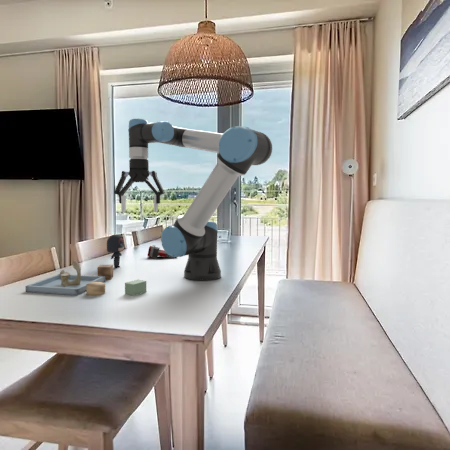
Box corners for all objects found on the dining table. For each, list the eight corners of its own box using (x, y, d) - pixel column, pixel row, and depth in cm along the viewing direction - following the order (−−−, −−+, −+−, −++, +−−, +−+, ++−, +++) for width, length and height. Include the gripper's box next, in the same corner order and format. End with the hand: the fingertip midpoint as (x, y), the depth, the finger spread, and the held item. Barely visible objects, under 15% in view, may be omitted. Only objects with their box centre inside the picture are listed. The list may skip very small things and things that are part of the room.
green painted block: (146, 292, 127) (146, 281, 127) (133, 296, 122) (133, 284, 122) (138, 290, 129) (138, 279, 129) (124, 294, 124) (124, 282, 124)
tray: (104, 281, 140) (104, 276, 140) (77, 295, 122) (77, 289, 122) (59, 279, 143) (58, 273, 143) (25, 291, 125) (25, 286, 124)
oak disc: (91, 289, 128) (91, 281, 127) (108, 291, 127) (108, 282, 127) (83, 294, 122) (83, 286, 121) (100, 296, 121) (100, 287, 121)
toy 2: (176, 261, 199) (148, 255, 198) (178, 249, 199) (151, 244, 197) (175, 264, 190) (146, 258, 189) (177, 252, 190) (148, 246, 189)
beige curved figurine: (48, 282, 129) (59, 256, 133) (59, 287, 135) (69, 262, 139) (68, 286, 127) (79, 259, 131) (78, 291, 133) (89, 265, 137)
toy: (118, 270, 161) (118, 236, 160) (102, 268, 163) (102, 235, 162) (128, 266, 170) (128, 233, 169) (112, 265, 172) (112, 233, 171)
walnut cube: (113, 276, 149) (112, 264, 149) (110, 279, 144) (110, 267, 144) (100, 276, 148) (100, 264, 148) (97, 279, 143) (97, 267, 143)
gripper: (171, 159, 150) (172, 211, 152) (112, 160, 153) (114, 211, 155) (166, 157, 143) (167, 212, 144) (105, 158, 146) (106, 212, 147)
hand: (139, 211), depth 150 cm, fingers open, 13 cm apart
